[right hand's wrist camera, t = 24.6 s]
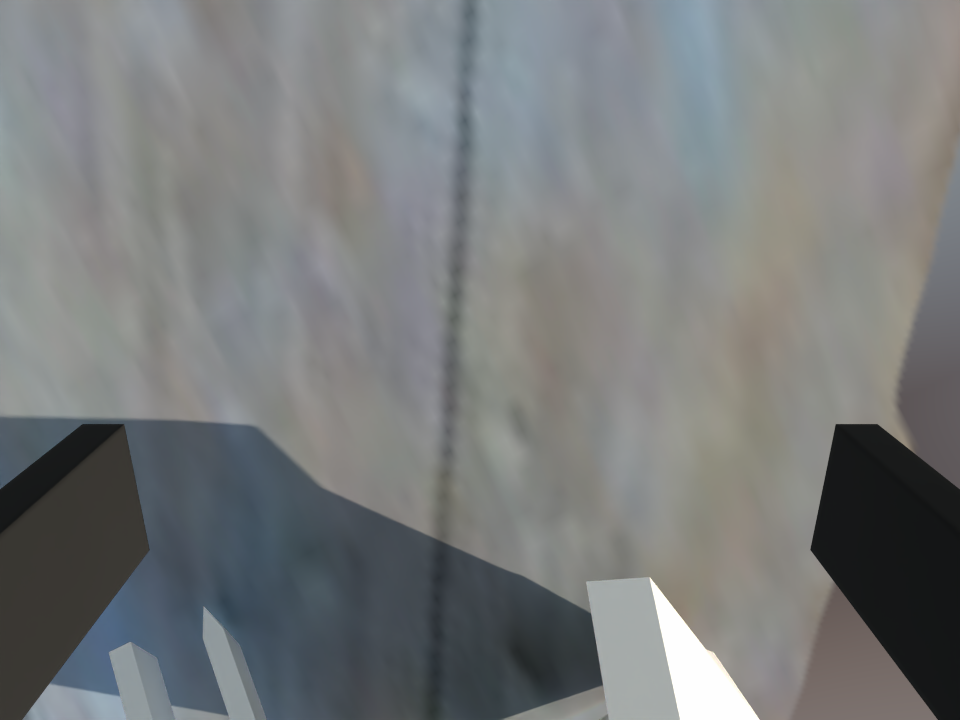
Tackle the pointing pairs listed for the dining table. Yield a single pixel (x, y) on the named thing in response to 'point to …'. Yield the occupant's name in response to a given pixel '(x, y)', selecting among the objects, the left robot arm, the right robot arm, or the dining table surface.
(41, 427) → the dining table surface
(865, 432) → the right robot arm
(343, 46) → the dining table surface
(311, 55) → the dining table surface
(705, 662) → the white plastic object
